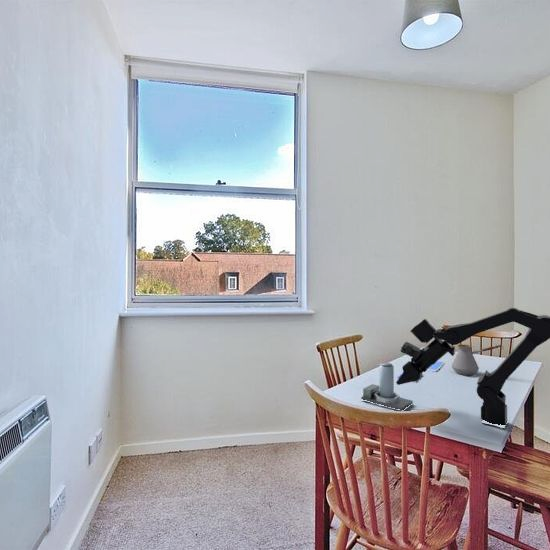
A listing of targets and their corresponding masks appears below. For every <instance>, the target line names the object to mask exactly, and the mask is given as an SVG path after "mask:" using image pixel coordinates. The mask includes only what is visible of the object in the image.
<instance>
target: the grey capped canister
mask: <svg viewBox="0 0 550 550" xmlns="http://www.w3.org/2000/svg"><path fill="white" fill-rule="evenodd" d="M394 372H395V371H394V365H393V364H392V363H390V362H381V363H380V364H379V391H380V397H383V398H394V392H395V391H394V390H395V387H394V385H395V383H394V382H395V381H394V380H395V377H394V374H395V373H394Z"/></svg>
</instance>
